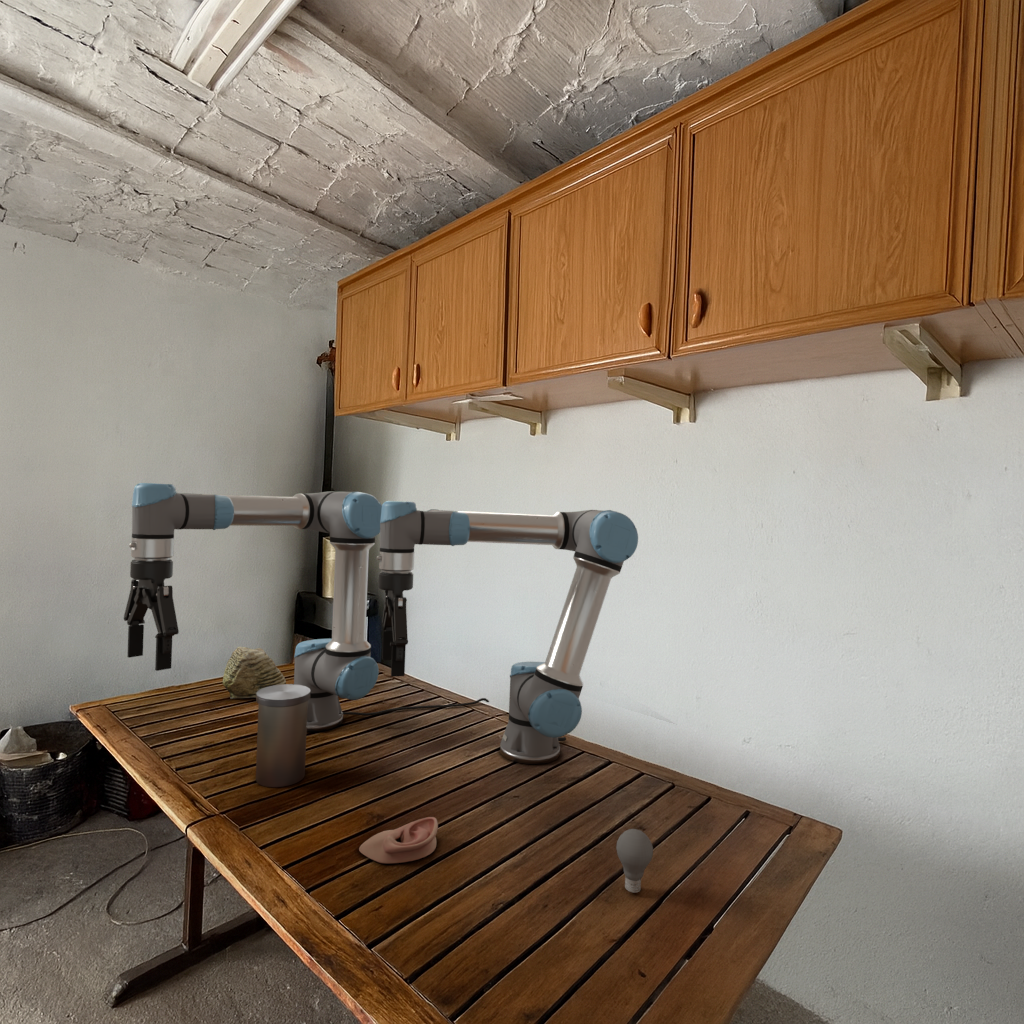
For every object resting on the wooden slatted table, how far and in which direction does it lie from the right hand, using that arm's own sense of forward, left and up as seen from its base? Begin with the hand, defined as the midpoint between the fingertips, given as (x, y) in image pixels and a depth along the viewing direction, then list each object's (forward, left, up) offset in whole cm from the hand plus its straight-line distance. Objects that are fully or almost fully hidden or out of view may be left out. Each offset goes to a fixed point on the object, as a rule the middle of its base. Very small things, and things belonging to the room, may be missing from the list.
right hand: (392, 667), depth 139 cm
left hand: (+49, -7, +1) cm, 49 cm away
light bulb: (-34, +48, -27) cm, 64 cm away
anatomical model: (+2, +25, -27) cm, 36 cm away
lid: (+22, -10, -8) cm, 26 cm away
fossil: (+31, -73, -27) cm, 83 cm away
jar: (+22, -11, -27) cm, 36 cm away
